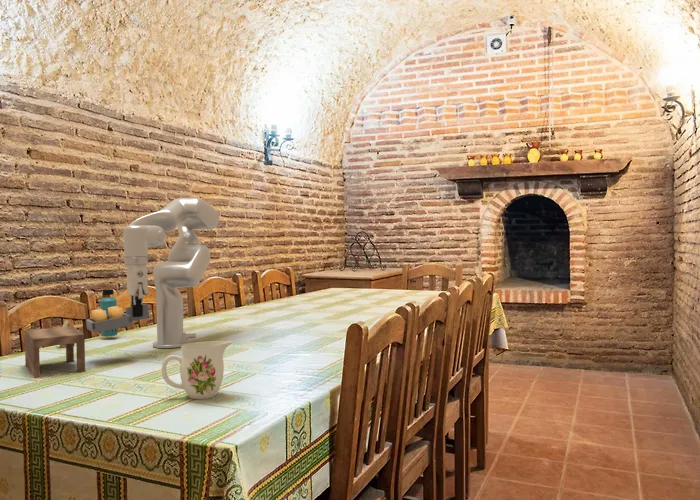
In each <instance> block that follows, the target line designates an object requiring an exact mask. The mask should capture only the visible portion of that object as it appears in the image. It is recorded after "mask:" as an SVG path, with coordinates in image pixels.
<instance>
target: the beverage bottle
mask: <svg viewBox="0 0 700 500" xmlns="http://www.w3.org/2000/svg"><path fill="white" fill-rule="evenodd" d="M110 295H115V292H114V289H112V288H105V289H103V290H102V296H109V297H102V298H101V299H100V301H99V302H100V306H99V307H100V308H99V309H102V310H103V311H104V310H105V311H106V316H107V315H109V312H108V308H109V307H113V306H118V305H117V302H118V301H117V299H116V298H115V297H111V296H110ZM118 329H119V328H116V329H111V330H106V331H101V332H100V335H101V337H113V336H117V335H118V334H119V333H118Z"/></svg>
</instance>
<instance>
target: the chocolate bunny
mask: <svg viewBox="0 0 700 500" xmlns="http://www.w3.org/2000/svg"><path fill="white" fill-rule="evenodd" d="M70 326H71V323H70V322H69V320H65V321H64V322H63V324H62V326H61V327H70ZM75 344H76V343H74V345H75ZM58 347H59V348H60V349H66V344H61V345H58Z"/></svg>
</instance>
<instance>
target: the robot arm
mask: <svg viewBox="0 0 700 500" xmlns="http://www.w3.org/2000/svg"><path fill="white" fill-rule="evenodd" d="M219 223H220V215H219V213H218V211H217V210H216V209H215V208H214V206H212V205H211V204H210V203H208V202H207V201H206V200H204V199H203V198H200V197H178V198H175V199H172V200H171V201H170V202H169V203H167V205H165V206H163V208H161V209H160V210H159V211H154V212H152V213H150V214H147V215H144V216H141V217H138V218H137V219H135V220H133V221H131V222H130V224H128V225H126V226H125V227H124V229H123V235H122V238H123V247H124V248H123V249H124V250H123V252H124V253H123V256H124V257H123V260H124V263H123V264H124V267H125V268H126V292H127V294H128V295H130V306H133V317H142V316H143V304H144V303H143V302H144V296H148V294H149V283H148V282H149V279H148V270H147V267H148V266H149V264H148V263H149V256H148V255H149V251H148V250H149V249H148V248H156V247H160V246H162V245H163V244H164V243H165V242H166V237H167V234H166V233H168V232H170V231H173V230H175V229H176V228H177V231H178V239H177V240H176V242H175V243H174V245H173V246H172V248H171V249H170V251H169V253H168V256H167V261H162V262H159V263H156V265H155V266H154V268H153V271H152V278H153V283H154V287H155V293H156V294H155V295H156V341H154V342H152V347H153V348H156V349H157V348H158V349H174V348H175V349H177V348H181V346H182V345H184V344H188V343H189V341H188V340H189V339H197V333H186V332H184V299H183V295H182V293H181V291H180V290H179V289H178V288H194V287H196V286H198V285H199V283H200V282H201V280H202V279H203V276H204V274H205V273H206V271H207V269H208V267H209V264H210V261H211V251H210V249H209V248H208V246H206V245H205V244H201V243H200V239H199V237H198V236H197V234H196V233H195V232H194V230H196V231H197V230H214V229H216V228H217V227H218V225H219Z"/></svg>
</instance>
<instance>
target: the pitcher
mask: <svg viewBox="0 0 700 500" xmlns="http://www.w3.org/2000/svg"><path fill="white" fill-rule="evenodd" d="M233 342H234V340H210V341H207V340H206V341H195V342H188V344H184V345H182V346H181V347H180V349H181V353H182V356H180V355H177V354H169V355H168V356H167V357H165V358H164V360H163V361H162V364H161V375H162V379H163V380H164V382H165V383H166V384H167V385H169V386H170V387H172V388H175V389H178V390H179V389H180V390H184V392H185V394H187V396H188V397H189V398H190V399H193V400H206V399H210V398H211V399H212V398H214V397H215V396H216V395H217V393H218V392H219V390H220V388H221V385H222V382H223V380H224V379H223V378H224V371H225V366H224V358H223V355H224V353H225V351H226V349H227V348H228V347H229V346H230V345H231V344H233ZM170 361H177V362H179V363H180V365H179V375H180V380H181V382H176V381H174V380H172V379H171V378H170V377H169V375H168V373H167V366H168V364H169V362H170Z"/></svg>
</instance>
